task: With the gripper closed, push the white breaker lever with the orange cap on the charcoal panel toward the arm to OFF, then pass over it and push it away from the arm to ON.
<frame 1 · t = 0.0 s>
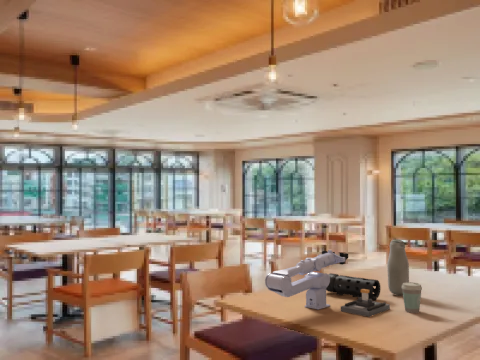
hand: (340, 254, 225), 22 cm above the table, tool horizontal, fingers open, 7 cm apart
muzzle brake: (350, 297, 230), on the table
grey bottle: (398, 295, 232), on the table
breaker panel: (365, 309, 204), on the table
breaker lever: (365, 294, 204), point 7 cm above the table, hinge at 0.0°
coffee cup: (412, 311, 201), on the table
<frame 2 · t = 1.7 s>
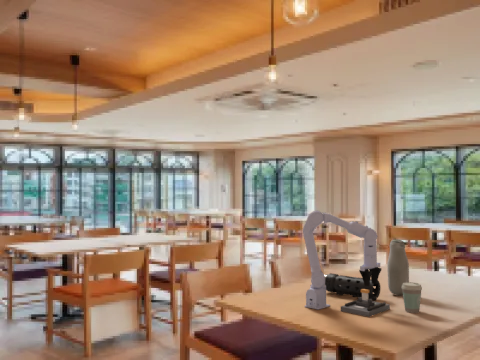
hand: (370, 284, 208), 10 cm above the table, tool pointing down, fingers open, 6 cm apart
nothing on the table moved.
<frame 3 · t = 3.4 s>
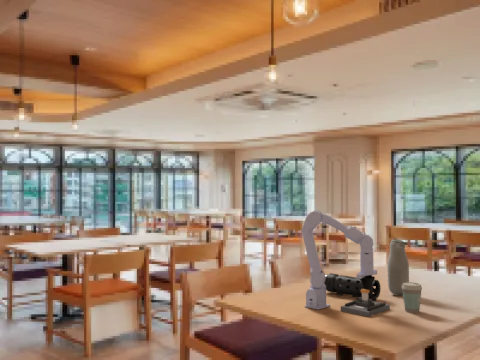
hand: (367, 292, 206), 7 cm above the table, tool pointing down, fingers closed, pressing on breaker lever
breaker lever: (365, 294, 204), point 7 cm above the table, hinge at 0.0°, touching gripper
everything else where it was.
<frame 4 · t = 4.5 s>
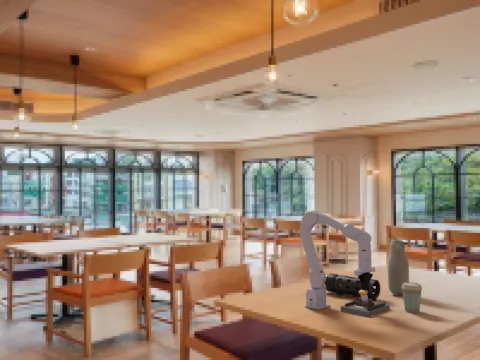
hand: (365, 289, 205), 9 cm above the table, tool pointing down, fingers closed
breaker lever: (363, 295, 204), point 7 cm above the table, hinge at -20.9°
everything else where it was.
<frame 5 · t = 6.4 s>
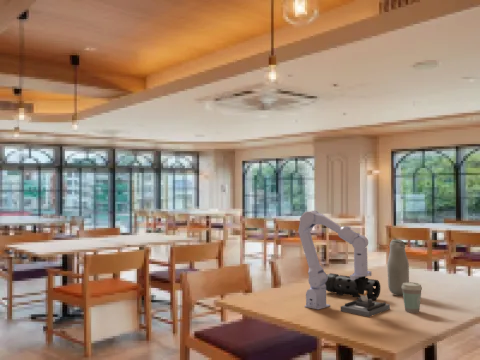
hand: (361, 294, 202), 8 cm above the table, tool pointing down, fingers closed, pressing on breaker lever
breaker lever: (363, 295, 203), point 6 cm above the table, hinge at -25.7°, touching gripper
everything else where it was.
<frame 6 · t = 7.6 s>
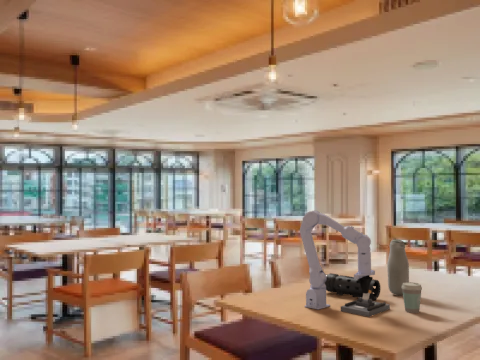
hand: (365, 293, 204), 8 cm above the table, tool pointing down, fingers closed, pressing on breaker lever
breaker lever: (366, 294, 205), point 7 cm above the table, hinge at 21.5°, touching gripper
everything else where it was.
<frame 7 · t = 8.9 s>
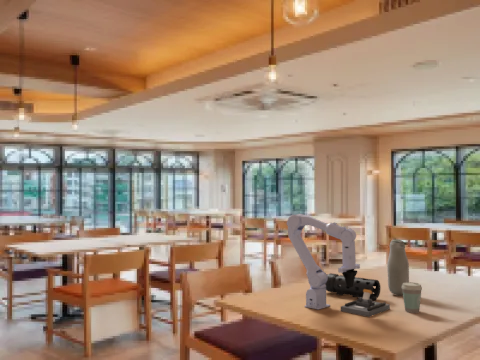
hand: (349, 286, 204), 10 cm above the table, tool pointing down, fingers closed
breaker lever: (366, 295, 205), point 6 cm above the table, hinge at 29.3°
everything else where it was.
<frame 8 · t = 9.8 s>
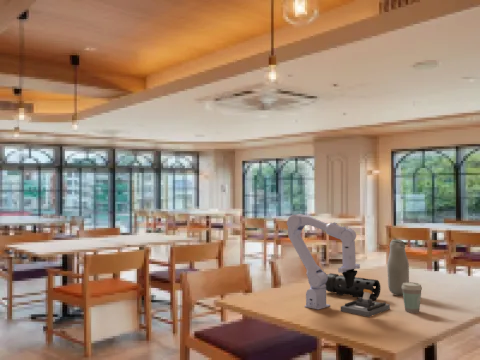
hand: (349, 286, 204), 10 cm above the table, tool pointing down, fingers closed
breaker lever: (366, 295, 205), point 6 cm above the table, hinge at 29.9°
everything else where it was.
at the end: breaker lever at +30° (first picture: +0°); coffee cup moved 0.2 cm from its start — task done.
